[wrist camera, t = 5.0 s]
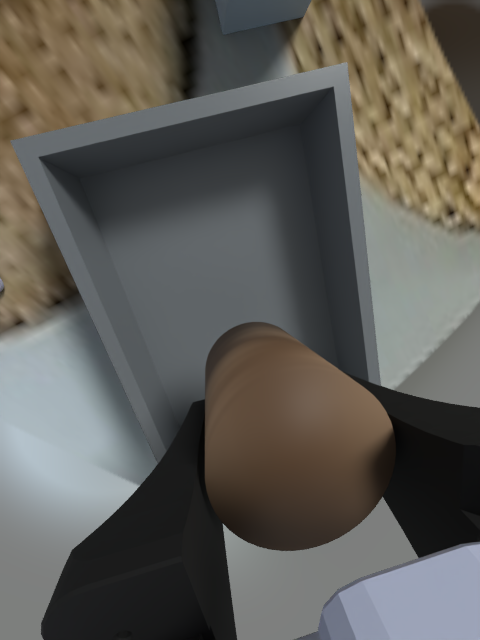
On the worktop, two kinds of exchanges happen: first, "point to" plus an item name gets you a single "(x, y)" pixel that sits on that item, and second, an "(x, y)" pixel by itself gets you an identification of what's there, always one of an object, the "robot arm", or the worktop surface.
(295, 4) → the slate cube
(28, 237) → the worktop surface
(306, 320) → the tote
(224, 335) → the brown potato
